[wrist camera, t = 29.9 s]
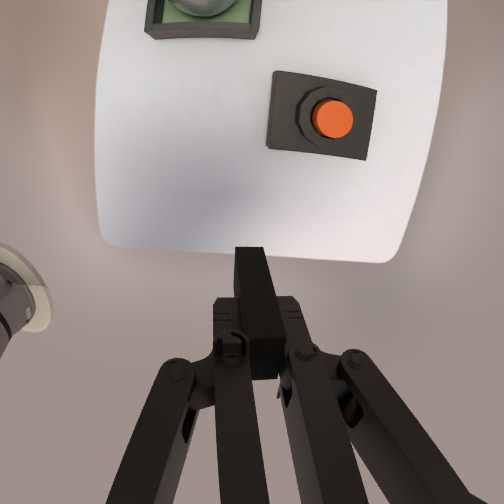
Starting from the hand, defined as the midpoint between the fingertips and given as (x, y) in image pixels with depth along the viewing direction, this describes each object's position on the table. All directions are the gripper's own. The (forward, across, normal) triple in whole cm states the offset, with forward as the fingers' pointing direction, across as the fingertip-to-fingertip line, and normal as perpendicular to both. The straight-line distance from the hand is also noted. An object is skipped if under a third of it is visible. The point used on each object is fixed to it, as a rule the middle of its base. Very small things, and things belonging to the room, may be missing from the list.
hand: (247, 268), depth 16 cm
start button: (+17, +10, +8) cm, 21 cm away
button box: (+20, +10, +8) cm, 24 cm away
